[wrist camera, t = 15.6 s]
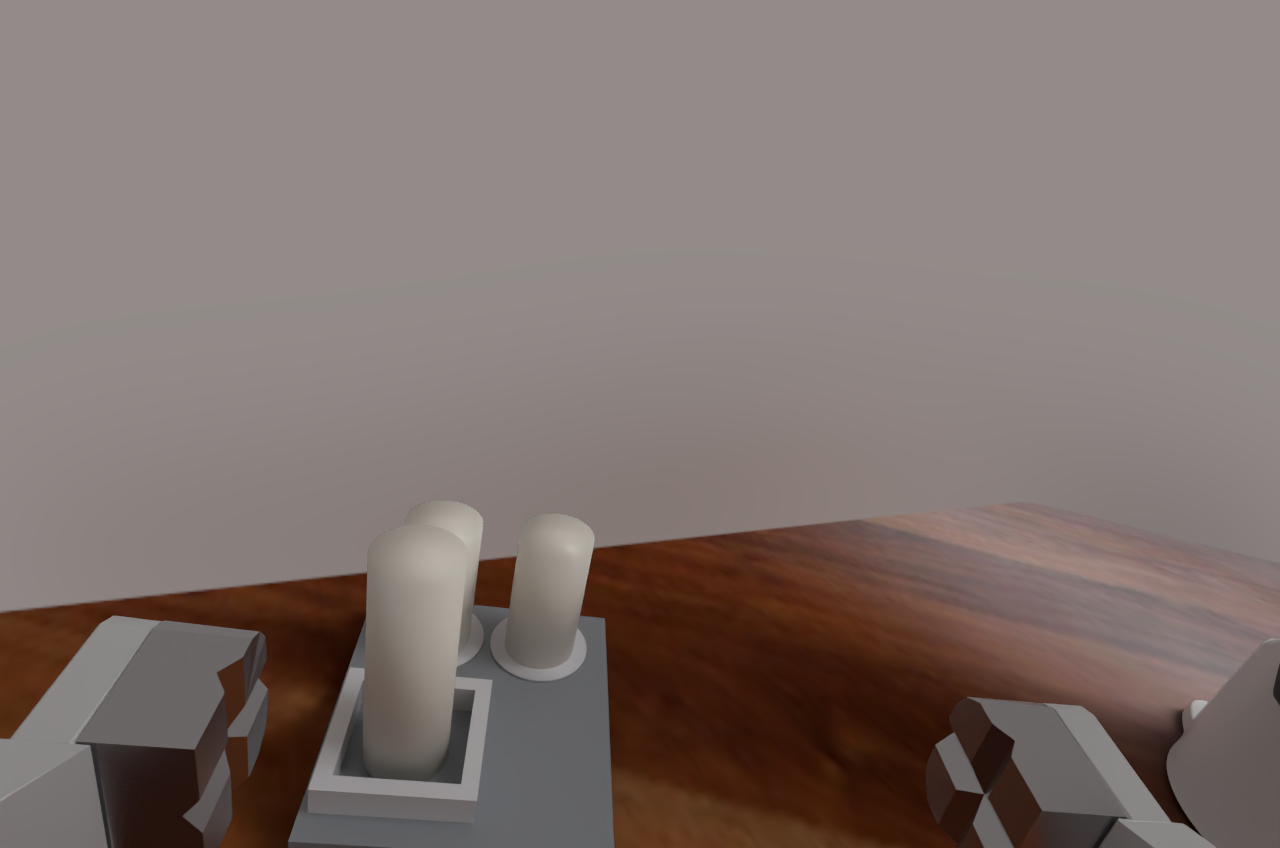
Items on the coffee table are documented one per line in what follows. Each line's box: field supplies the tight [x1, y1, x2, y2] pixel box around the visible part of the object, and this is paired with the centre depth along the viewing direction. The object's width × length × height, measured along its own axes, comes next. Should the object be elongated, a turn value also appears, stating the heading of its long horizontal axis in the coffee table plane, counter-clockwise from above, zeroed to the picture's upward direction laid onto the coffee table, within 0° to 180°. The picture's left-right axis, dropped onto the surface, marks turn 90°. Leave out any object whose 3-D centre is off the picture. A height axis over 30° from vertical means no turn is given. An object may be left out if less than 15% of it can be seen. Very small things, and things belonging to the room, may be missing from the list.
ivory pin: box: [362, 525, 468, 782], centre depth 36 cm, size 4×4×12 cm
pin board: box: [288, 500, 614, 848], centre depth 41 cm, size 14×16×10 cm
